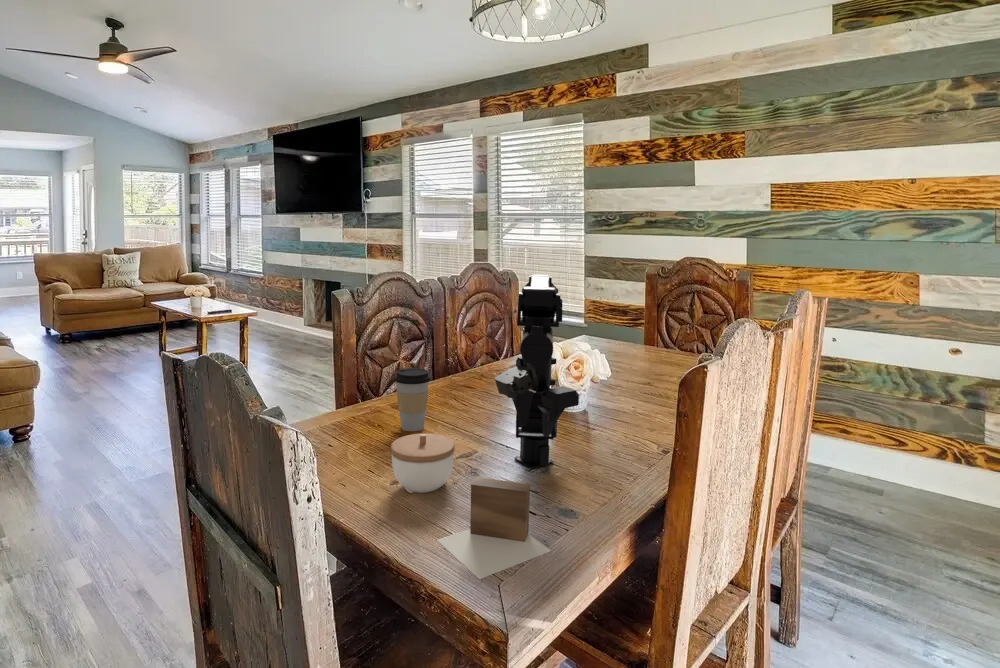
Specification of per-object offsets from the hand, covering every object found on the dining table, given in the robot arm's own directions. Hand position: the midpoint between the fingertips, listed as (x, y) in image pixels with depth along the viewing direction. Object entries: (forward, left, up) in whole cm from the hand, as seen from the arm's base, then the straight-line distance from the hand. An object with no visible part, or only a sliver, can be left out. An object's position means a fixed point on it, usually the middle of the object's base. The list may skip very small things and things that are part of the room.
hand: (534, 430), depth 114 cm
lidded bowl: (-14, -17, -13) cm, 26 cm away
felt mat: (+12, -18, -13) cm, 26 cm away
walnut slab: (+10, -15, -12) cm, 22 cm away
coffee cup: (-46, -3, -13) cm, 48 cm away
